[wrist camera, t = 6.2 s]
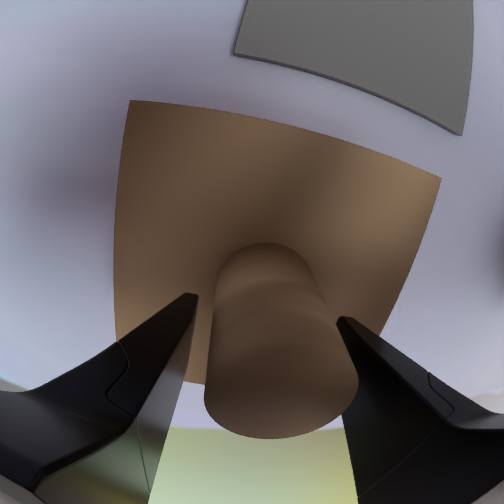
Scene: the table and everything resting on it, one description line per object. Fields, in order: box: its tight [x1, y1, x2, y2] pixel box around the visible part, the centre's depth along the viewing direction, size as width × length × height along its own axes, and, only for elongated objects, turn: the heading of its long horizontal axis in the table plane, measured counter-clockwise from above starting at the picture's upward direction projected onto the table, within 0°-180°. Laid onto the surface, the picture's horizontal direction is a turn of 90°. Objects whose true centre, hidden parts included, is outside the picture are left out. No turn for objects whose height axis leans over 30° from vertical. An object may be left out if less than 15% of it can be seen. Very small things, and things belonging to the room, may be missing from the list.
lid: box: [114, 100, 442, 439], centre depth 9 cm, size 11×11×6 cm
